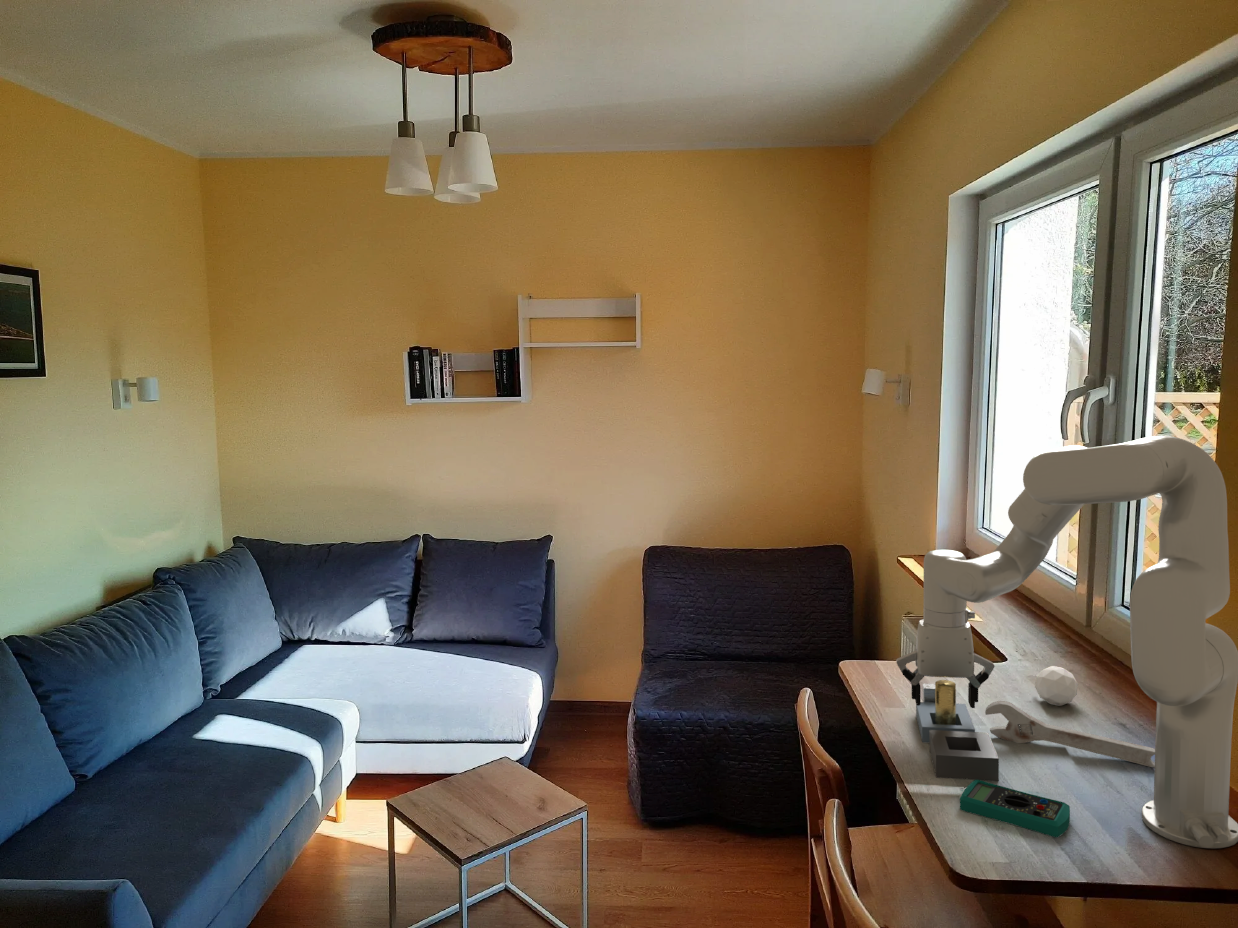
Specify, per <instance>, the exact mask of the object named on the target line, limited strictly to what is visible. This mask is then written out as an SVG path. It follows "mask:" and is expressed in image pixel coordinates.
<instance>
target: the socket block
mask: <svg viewBox="0 0 1238 928" xmlns="http://www.w3.org/2000/svg"><path fill="white" fill-rule="evenodd" d="M915 717H916V721H917V726H918V731H919V733H920V737H921V742H922V743H927V744H928V743H929V730H942V731H963V732H976V728H975V725H974V723H973V721H972V718H971V716H970V713H969V709H968V707H967V705H966V703H956V725H939V724H936V720H935V703H930V702H923V701H920V705H919V706H917V705H916V704H915Z"/></svg>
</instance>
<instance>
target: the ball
mask: <svg viewBox="0 0 1238 928" xmlns="http://www.w3.org/2000/svg"><path fill="white" fill-rule="evenodd" d="M1034 685H1035V686H1034V688H1035V690H1036V693H1037V694H1038V696H1039V697H1040V699H1042V700H1044V701H1045V702H1047V703H1048V704H1050V705H1054V706H1059V707H1061V706H1064V705H1066V704H1068V703H1071V702H1072V701H1073V700H1074V699H1075V697H1076V695H1077V694H1078V686H1079V684H1078V681H1077V680H1076V678H1075V676H1074V674H1073V673H1072V672H1070V671H1069V670H1067V669H1065V668H1063V667H1060V666H1056V665H1051V666H1048V667H1046V668H1044V669H1042V670H1041V671H1039V673H1038V674H1037V675H1036V677H1035V683H1034Z"/></svg>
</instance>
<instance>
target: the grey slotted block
mask: <svg viewBox="0 0 1238 928" xmlns="http://www.w3.org/2000/svg"><path fill="white" fill-rule="evenodd" d="M989 733H990V732H979V731H975V732H963V731H942V730H929V754H930V758H931V762H932V766H933V770H934V774H935V778H939V779H954V780H955V779H956V780H969V781H970V780H972V781H974V780H981V781H986V782H988V781H989V782H999V781H1000V777H999V776H1000V773H999V772H1000V771H999V769H1000V765H999V764H1000V761H999V760H1000V759H999V756H998V753H997V750H996V748H995V746H994V744H993V741H992V739H991V736H990V734H989Z"/></svg>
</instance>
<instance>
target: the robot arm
mask: <svg viewBox="0 0 1238 928" xmlns="http://www.w3.org/2000/svg"><path fill="white" fill-rule="evenodd" d="M1022 476H1023V477H1022V482H1023V483H1022V484H1023V487H1024V489H1023V490H1022V491H1021V492H1020V493H1019V494H1018V496H1017V497H1016V499H1014V500H1013V502H1012V503H1011V505H1010V506H1009V508H1008V512H1007V514H1008V515H1007V516H1008V519H1009V521H1010V522H1011V524H1012V525H1013V526H1012V528H1011V530H1010V532H1009V533H1008V534H1007V535H1006V536H1005V538H1004V539H1003V540H1002V542H1000V544H999V545H998V546H997V547H996V548H995V549H994V550H992V552H990V553H987V554H986V553H985V554H984V555H979V556H978V557H977V556H976V557H975V558H970V559H969V558H968V559H967V557H966V555H964V554H963V553H962V552H961V551H957V550H952V549H935V550H930V551H928V552H926V554H924V558H923V619H919V621H918V625H917V629H916V639H915V650H914V651H911V652H909V653H908V654H905V655H902V656H900V657H898V658H896V660H895V661H896V664H897V667H898V668H899V670H900V673H902V675H903V677H904V678H906V679H907V680H908V681H909V682H910V684H911V699H912V700H915V706H916V705H917V706H919V705H920V702H921V683H920V682H921V681H922V680H923V679H924V678H925V677H932V678H954V679H955V678H956V679H965V678H966V679H967V680H968V685H967V689H968V690H967V691H968V693H967V696H968V697H967V700H968V701H967V702H968V705H969V707H970V708H971V709H976V706H975V705H976V703H978V702H979V688H981V685H982V684H984V682H985V681H987V680H989V678H990V675H991V674H992V672H993V671H994V669H995V667H996V666H995V664H994V663H993V661H991V660H989V659H987V658H985V657H983V656H981V655H979V654H977V653H975V652H974V651H975V650H974V642H973V634H972V629H971V624H970V622H969V620H971V619H975V618H976V612H975V611H974V610H972V611H971V610H968V608H967V605H968V602H970V603H976V604H979V603H985V602H987V601H990V600H992V599H995V598H997V597H999V596H1002V595H1005V594H1008V593H1010V592H1013V591H1014V590H1016V589H1017V588H1019V586H1021V585H1022V584H1023V583H1024V582H1025V581H1027V579H1028V578H1029V577H1030V575H1032V573H1033V572H1034V571H1035V570H1037V568H1038V567H1039V566H1040V565H1041V563H1042V562H1044V560H1045V558H1046V557H1047V555H1048V553H1049V551H1050V550H1051V547H1052V545H1053V542H1054V539H1055V538H1056V537H1057V536H1058V534H1060V532H1061V531H1062V530H1063V529H1064V528H1065V526H1067V524H1068V523H1069V522H1070V521H1071V520H1072V519H1073V518H1074V516H1075V515H1076V514H1077V513H1078V512H1079V511H1080V510H1081V509H1082V508H1083V507H1084V506H1085V505H1090V504H1091V505H1092V504H1108V503H1109V504H1110V503H1111V504H1112V503H1113V504H1114V503H1123V502H1124V503H1125V502H1126V503H1127V502H1133V501H1138V500H1143V499H1145V498H1149V497H1151V496H1156V495H1158V494H1159V495H1160V497H1161V501H1162V502H1161V509H1160V514H1159V517H1158V518H1159V519H1158V529H1157V531H1158V541H1159V545H1158V559H1157V563H1155V564H1154V565H1152V566H1149V567H1147V568H1146V569H1144V570H1143V571H1142V572H1140V574H1139V575H1138V576H1137V578H1136V580H1135V581H1134V583H1133V585H1132V588H1131V592H1130V598H1129V621H1130V622H1129V625H1130V627H1129V628H1130V653H1131V654H1130V655H1131V666H1132V673H1133V675H1134V679H1135V681H1136V683H1137V685H1138V686H1139V688H1140V690H1141V691H1143V693H1144V694H1146V695H1145V696H1148V698H1150V699H1152V700H1153V701H1155V702H1156V712H1155V713H1156V714H1155V738H1154V739H1155V744H1154V745H1155V746H1154V748H1155V755H1154V763H1155V767H1154V780H1153V781H1154V782H1153V789H1154V790H1153V800H1150V801H1148V802H1146V803H1144V804H1143V806H1142V808H1141V819H1142V821H1143V823H1144V824H1145V825H1146V827H1148V828H1149V829H1150V830H1152V831H1153V832H1154V833H1156V834H1157V835H1159V836H1161V837H1163V838H1165V839H1167V840H1171V841H1173V842H1175V843H1180V844H1182V845H1185V846H1189V847H1194V848H1201V849H1223V848H1229V847H1231V846H1234V845H1236V844H1237V843H1238V822H1237V821H1236V820H1235V819H1233V818H1232V817H1231V816H1230V815H1229V811H1230V809H1229V807H1230V785H1231V784H1230V779H1231V756H1232V755H1231V754H1232V753H1231V752H1232V737H1233V717H1234V716H1233V715H1234V706H1235V699H1236V692H1237V687H1238V648H1237V645H1236V644H1235V642H1234V641H1233V639H1232V638H1231V636H1229V635H1228V634H1227V633H1226V632H1225V631H1224V630H1223V629H1221V628H1219V627H1218V626H1215V625H1212V624H1210V623H1207V622H1206V620H1207V619H1209V618H1210V617H1212V616H1213V615H1216V614H1217V613H1219V612H1220V611H1221V610H1222V609H1223V608H1224V607H1225V605H1227V603H1228V602H1229V598H1230V595H1231V581H1230V578H1231V577H1230V556H1229V555H1230V552H1229V551H1230V550H1229V533H1228V499H1227V487H1226V482H1225V479H1224V476H1223V473H1222V471H1221V469H1220V467H1219V466H1218V464H1217V462H1216V461H1215V460H1214V459H1213V457H1212V456H1211V455H1209V453H1207V452H1206V451H1205V450H1204V449H1202V448H1201V447H1199V446H1198V445H1197V444H1195V443H1192V442H1191V441H1189V440H1186V439H1184V438H1179V437H1176V436H1172V435H1171V436H1170V435H1152V436H1146V437H1142V438H1141V437H1140V438H1138V439H1135V440H1130V441H1127V442H1122V443H1115V444H1109V445H1102V446H1094V447H1086V446H1082V445H1066V446H1062V447H1058V448H1053V449H1052V448H1051V449H1048V450H1045V451H1044V450H1043V451H1042V452H1040V453H1038V454H1036V455H1035V456H1033V457H1032V458H1031V459H1030V460H1029V462H1028V463H1027V464H1026V466H1025V469H1024V471H1023V475H1022ZM914 661H915V666H916V668H915V670H914V671H911V670H910V669H909V668H908V667H907V665H908V664H909V663H912V662H914ZM975 663H976V664H978V665H980V666H982V667H983V668H982V670H981V671H980V672H978V673H977V674H975Z"/></svg>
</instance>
